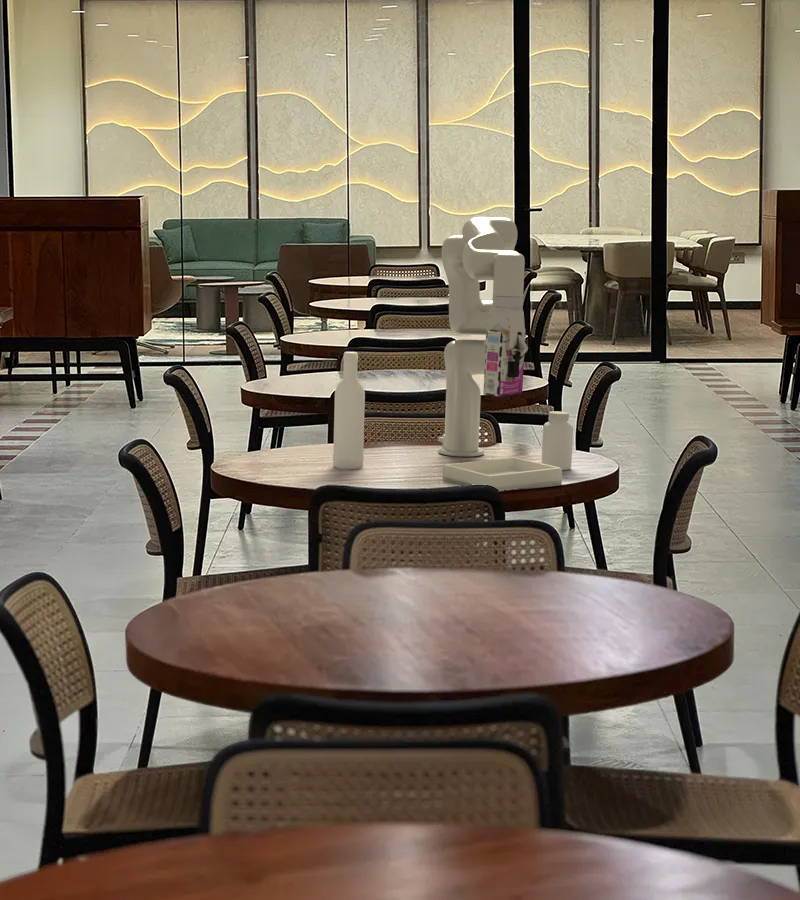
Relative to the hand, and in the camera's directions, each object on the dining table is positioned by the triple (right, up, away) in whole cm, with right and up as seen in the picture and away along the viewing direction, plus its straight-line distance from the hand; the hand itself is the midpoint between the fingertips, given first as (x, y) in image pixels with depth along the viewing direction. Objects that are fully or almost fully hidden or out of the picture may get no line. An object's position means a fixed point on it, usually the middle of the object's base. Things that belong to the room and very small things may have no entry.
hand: (504, 374), depth 391 cm
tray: (0, -27, +5) cm, 27 cm away
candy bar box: (0, -5, +1) cm, 5 cm away
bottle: (-40, -23, +20) cm, 50 cm away
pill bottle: (+16, -24, +27) cm, 39 cm away
